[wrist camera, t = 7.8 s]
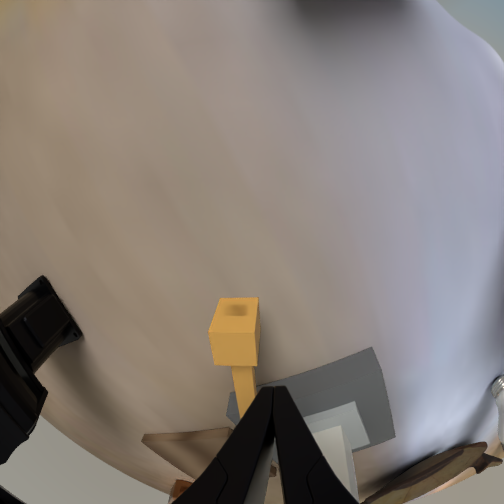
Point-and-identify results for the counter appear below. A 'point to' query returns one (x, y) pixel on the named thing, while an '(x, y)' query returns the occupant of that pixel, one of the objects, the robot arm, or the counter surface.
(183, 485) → the whiskey bottle
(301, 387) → the socket block
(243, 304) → the ball-topped lever
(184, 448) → the walnut board
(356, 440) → the plug
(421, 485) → the brown shallow curved piece
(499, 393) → the light bulb
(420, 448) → the counter surface
